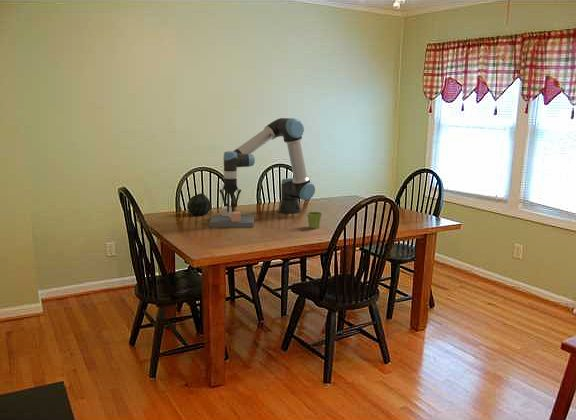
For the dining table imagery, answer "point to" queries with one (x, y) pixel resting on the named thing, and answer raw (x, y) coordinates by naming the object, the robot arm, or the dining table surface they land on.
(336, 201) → the dining table surface
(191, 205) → the squash
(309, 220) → the plant pot
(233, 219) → the salmon orange block
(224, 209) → the block
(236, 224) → the console
